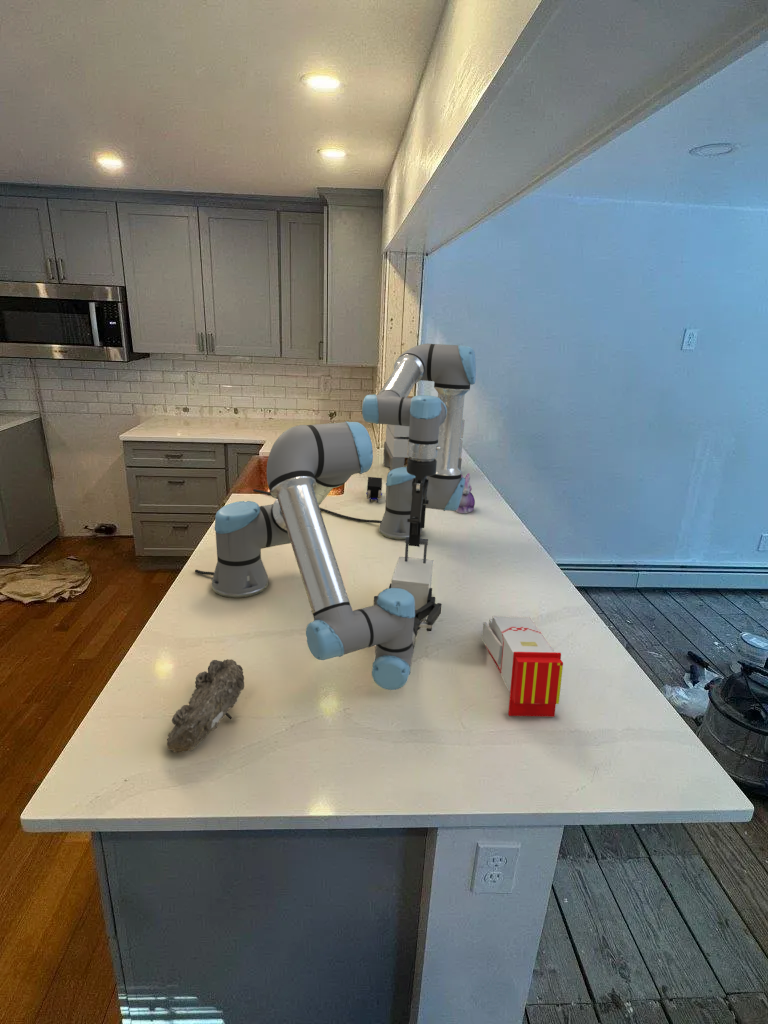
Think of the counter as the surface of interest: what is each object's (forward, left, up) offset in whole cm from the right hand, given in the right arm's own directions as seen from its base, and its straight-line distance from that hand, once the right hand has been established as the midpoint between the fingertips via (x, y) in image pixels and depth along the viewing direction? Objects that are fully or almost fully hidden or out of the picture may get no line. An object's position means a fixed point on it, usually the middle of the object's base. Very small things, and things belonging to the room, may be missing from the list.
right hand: (416, 536), depth 151 cm
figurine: (-40, +66, -18) cm, 80 cm away
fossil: (+12, -64, -18) cm, 68 cm away
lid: (+3, -3, -8) cm, 10 cm away
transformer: (-89, +89, -18) cm, 127 cm away
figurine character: (-71, +45, -18) cm, 87 cm away
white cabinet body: (+3, -4, -18) cm, 19 cm away
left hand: (+5, -6, -12) cm, 14 cm away
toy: (+40, -7, -18) cm, 44 cm away
